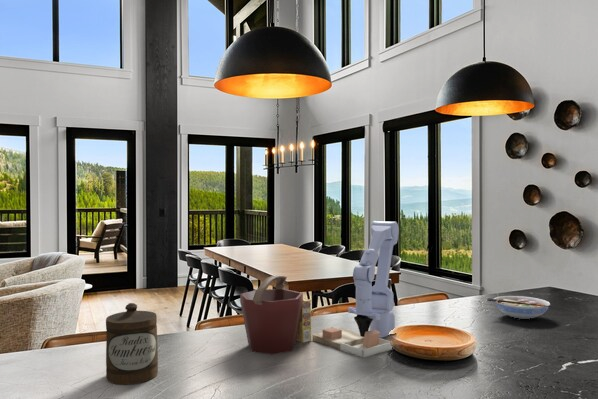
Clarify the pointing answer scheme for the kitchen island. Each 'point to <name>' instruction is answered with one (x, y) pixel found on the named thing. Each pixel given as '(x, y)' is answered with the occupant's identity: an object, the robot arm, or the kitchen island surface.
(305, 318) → the candy box
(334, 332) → the tile far
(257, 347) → the bucket
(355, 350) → the tray
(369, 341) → the tile near
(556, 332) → the kitchen island surface
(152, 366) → the wooden container
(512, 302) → the ramen bowl
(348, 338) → the board
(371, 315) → the robot arm
